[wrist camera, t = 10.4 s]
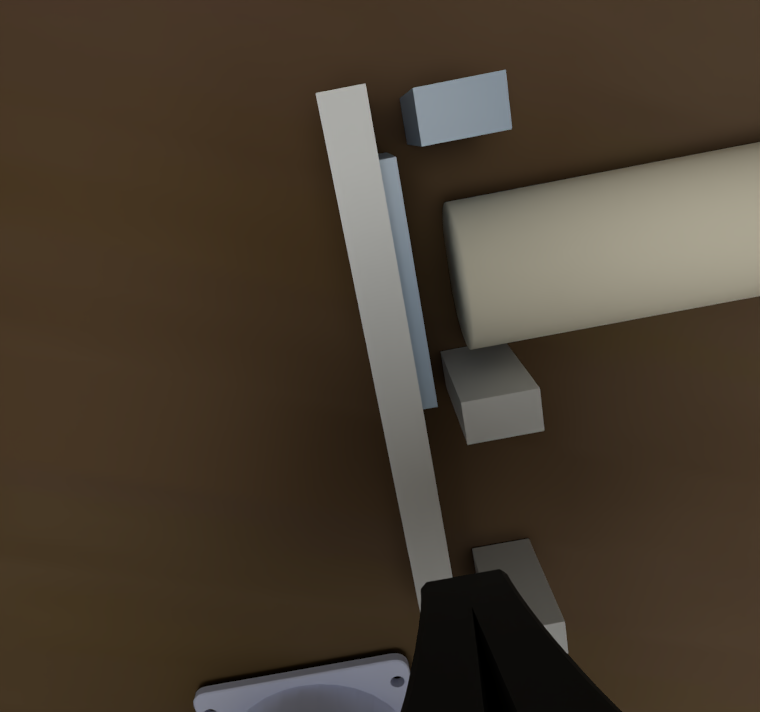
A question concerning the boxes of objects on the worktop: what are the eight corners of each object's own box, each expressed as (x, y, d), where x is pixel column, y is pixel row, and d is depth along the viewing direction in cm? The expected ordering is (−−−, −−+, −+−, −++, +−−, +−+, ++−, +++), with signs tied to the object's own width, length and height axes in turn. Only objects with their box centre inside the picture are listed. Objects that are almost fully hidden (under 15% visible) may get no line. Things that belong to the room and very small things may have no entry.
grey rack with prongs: (532, 571, 23) (580, 686, 18) (421, 590, 23) (440, 711, 18) (471, 76, 17) (516, 53, 12) (325, 105, 17) (315, 92, 12)
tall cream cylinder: (868, 97, 17) (998, 138, 14) (833, 231, 20) (937, 294, 16) (436, 180, 18) (465, 240, 14) (451, 303, 20) (478, 378, 17)
